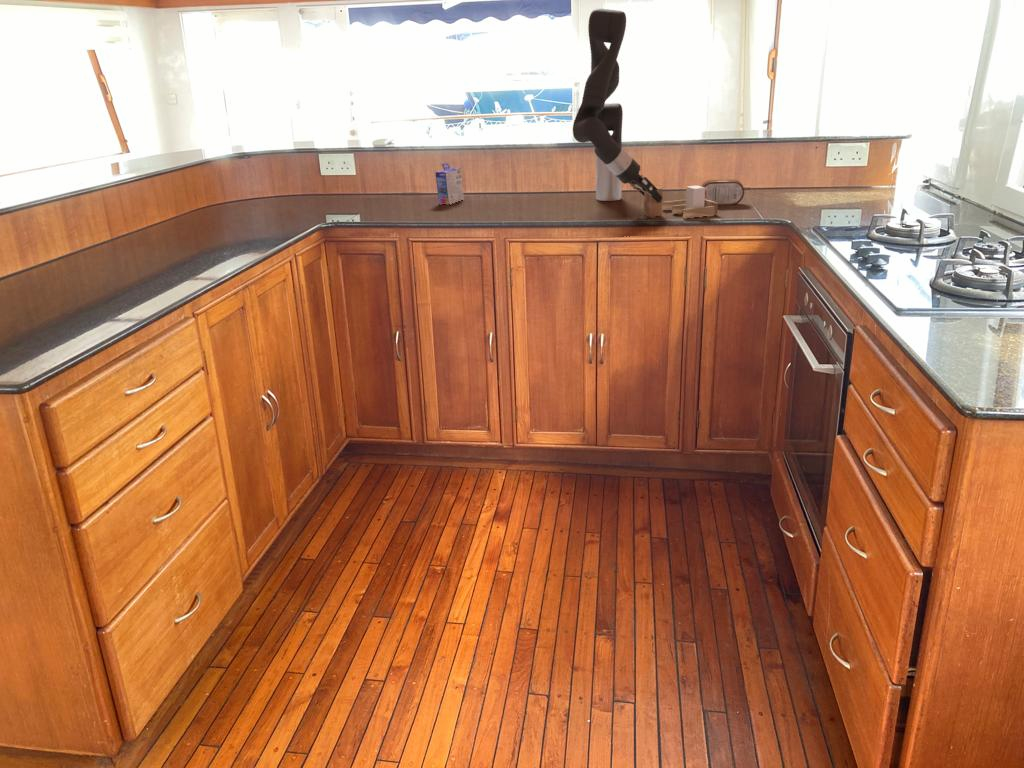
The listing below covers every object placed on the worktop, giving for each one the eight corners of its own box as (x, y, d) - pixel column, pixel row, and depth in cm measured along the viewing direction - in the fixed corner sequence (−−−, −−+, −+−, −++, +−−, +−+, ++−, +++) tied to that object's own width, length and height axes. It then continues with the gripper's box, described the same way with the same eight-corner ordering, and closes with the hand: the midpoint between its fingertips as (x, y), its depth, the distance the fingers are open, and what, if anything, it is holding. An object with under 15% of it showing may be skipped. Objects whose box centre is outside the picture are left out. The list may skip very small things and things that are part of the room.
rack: (662, 210, 269) (662, 198, 268) (694, 207, 272) (694, 195, 271) (683, 219, 256) (684, 206, 254) (717, 215, 258) (717, 202, 257)
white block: (685, 214, 262) (686, 186, 259) (696, 213, 263) (697, 185, 260) (692, 217, 258) (693, 188, 254) (703, 215, 259) (705, 187, 255)
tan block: (643, 215, 265) (644, 187, 261) (655, 213, 266) (655, 186, 262) (650, 217, 260) (651, 189, 257) (661, 216, 261) (662, 188, 258)
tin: (742, 203, 275) (744, 178, 272) (744, 205, 272) (746, 180, 269) (698, 204, 276) (699, 180, 273) (699, 206, 274) (700, 181, 270)
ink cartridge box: (452, 199, 308) (449, 161, 303) (464, 200, 306) (461, 161, 300) (437, 204, 301) (434, 165, 295) (449, 205, 298) (446, 165, 292)
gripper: (639, 158, 247) (672, 192, 254) (621, 153, 260) (652, 186, 267) (623, 177, 248) (656, 210, 255) (606, 171, 260) (638, 203, 268)
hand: (654, 198), depth 261 cm, fingers open, 8 cm apart
